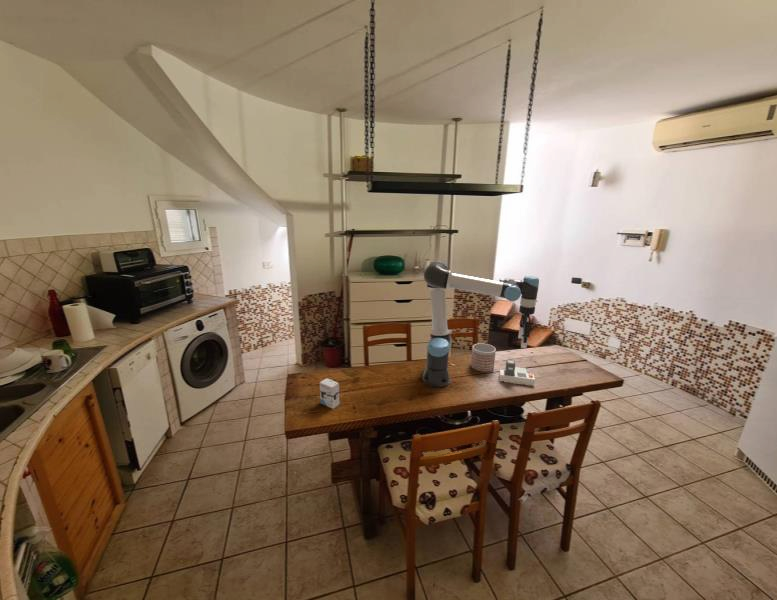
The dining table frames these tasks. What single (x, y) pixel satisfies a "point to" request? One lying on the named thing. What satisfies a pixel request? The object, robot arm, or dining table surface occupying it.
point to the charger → (510, 367)
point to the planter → (483, 357)
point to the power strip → (517, 378)
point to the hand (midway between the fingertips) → (522, 343)
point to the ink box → (329, 393)
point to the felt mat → (520, 370)
